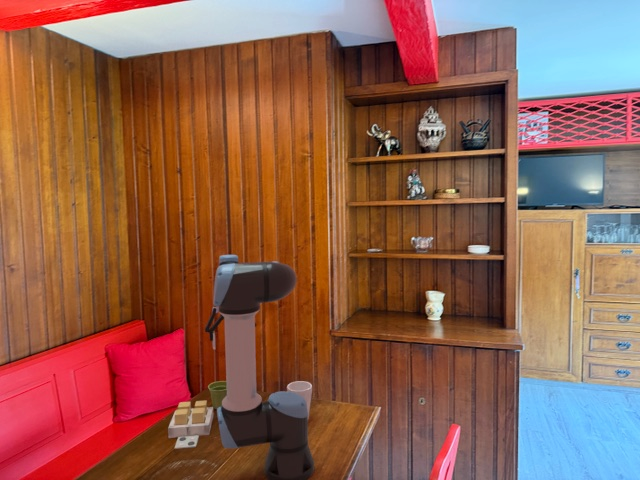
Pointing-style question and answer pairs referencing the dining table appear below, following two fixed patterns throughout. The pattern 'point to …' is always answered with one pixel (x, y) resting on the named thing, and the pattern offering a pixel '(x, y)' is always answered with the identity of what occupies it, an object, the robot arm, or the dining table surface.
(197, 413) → the button near right
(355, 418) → the dining table surface
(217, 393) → the plant pot
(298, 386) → the foam cup
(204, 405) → the button far right
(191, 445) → the pattern card
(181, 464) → the dining table surface
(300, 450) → the robot arm
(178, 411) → the button near left
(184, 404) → the tan cube block
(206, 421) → the board
